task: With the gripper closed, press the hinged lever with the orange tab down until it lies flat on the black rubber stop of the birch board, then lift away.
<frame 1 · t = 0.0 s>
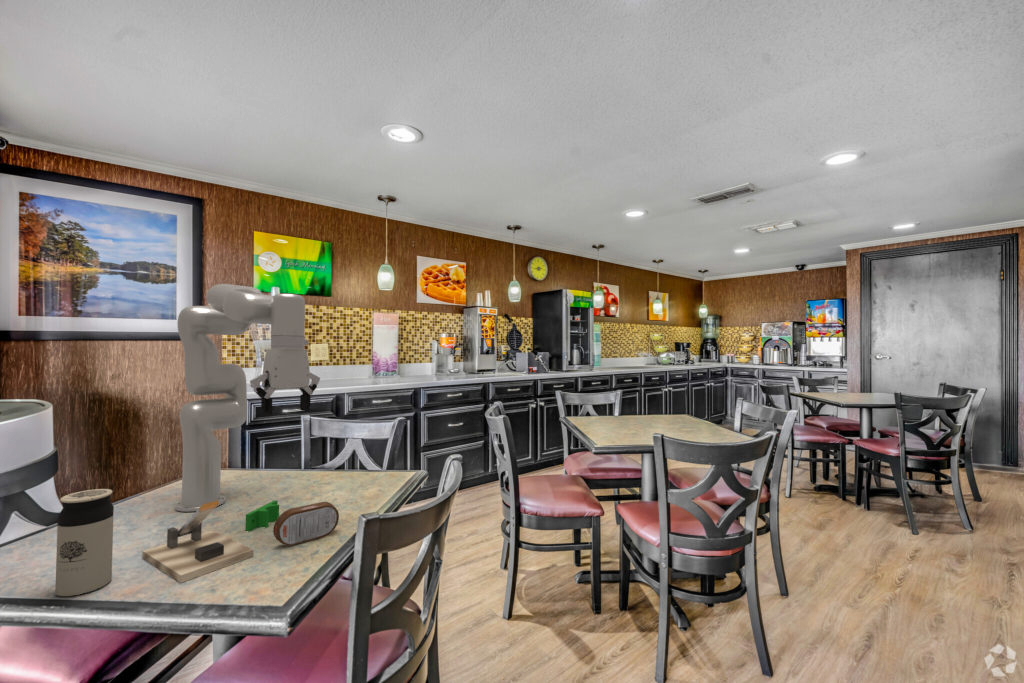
hand: (286, 412, 111), 31 cm above the table, tool pointing down, fingers open, 9 cm apart
tin: (307, 541, 110), on the table
hinged lever: (196, 519, 101), point 8 cm above the table, hinge at 35.0°
base plate: (197, 557, 100), on the table
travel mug: (84, 587, 87), on the table
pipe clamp: (265, 525, 120), on the table
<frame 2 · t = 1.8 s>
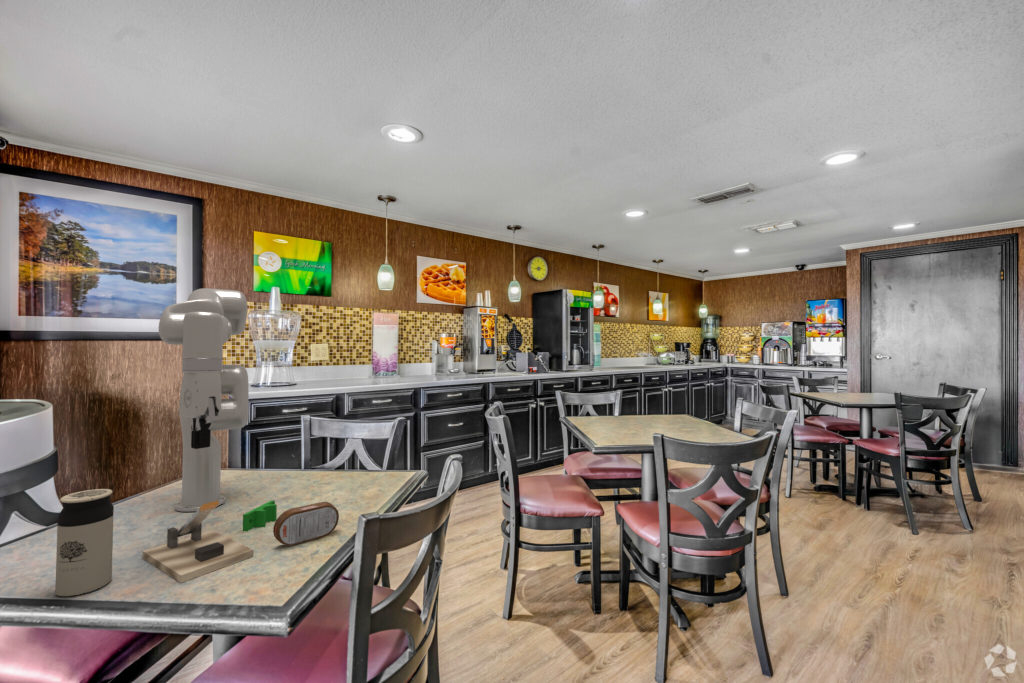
hand: (200, 447, 101), 25 cm above the table, tool pointing down, fingers closed
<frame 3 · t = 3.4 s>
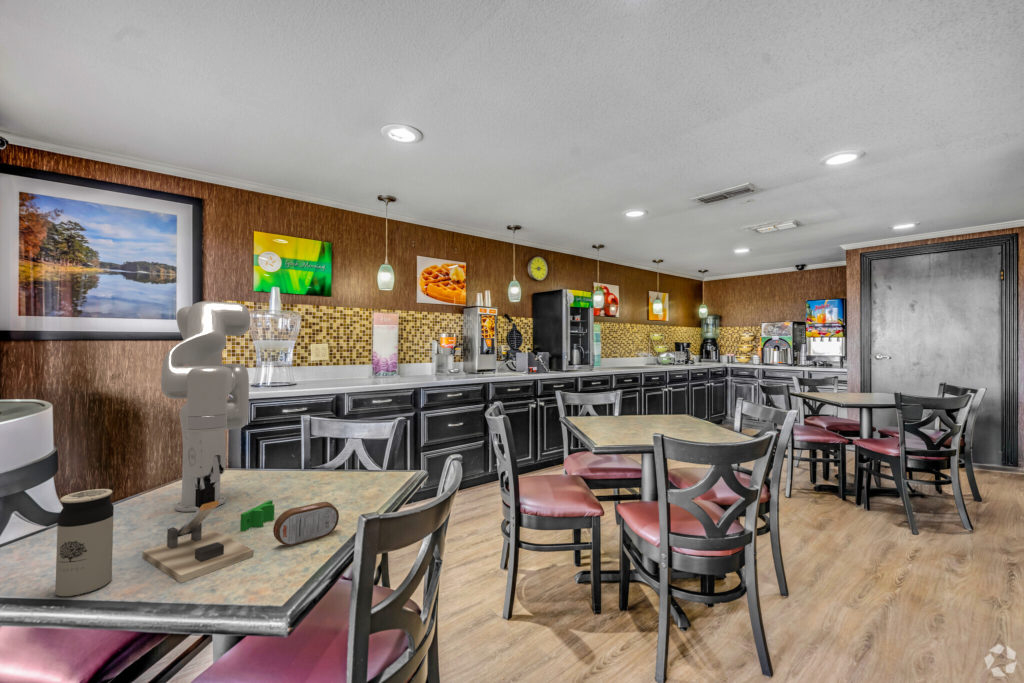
hand: (205, 505, 99), 12 cm above the table, tool pointing down, fingers closed
hinged lever: (196, 519, 101), point 8 cm above the table, hinge at 35.0°, touching gripper
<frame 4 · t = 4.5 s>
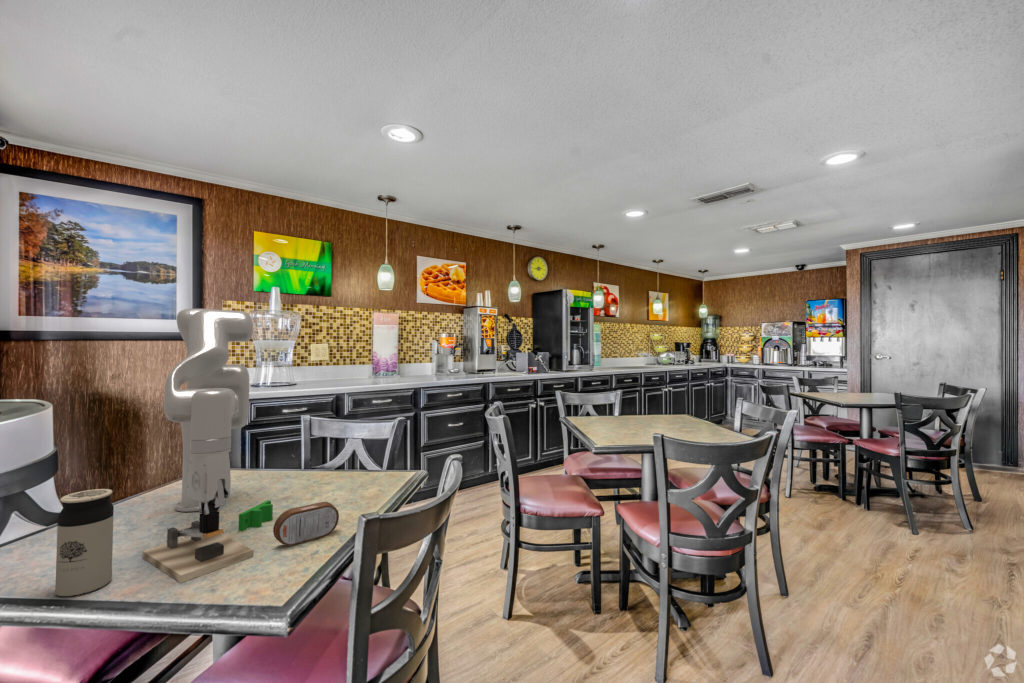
hand: (209, 530, 97), 7 cm above the table, tool pointing down, fingers closed
hinged lever: (198, 532, 100), point 5 cm above the table, hinge at 11.5°, touching gripper
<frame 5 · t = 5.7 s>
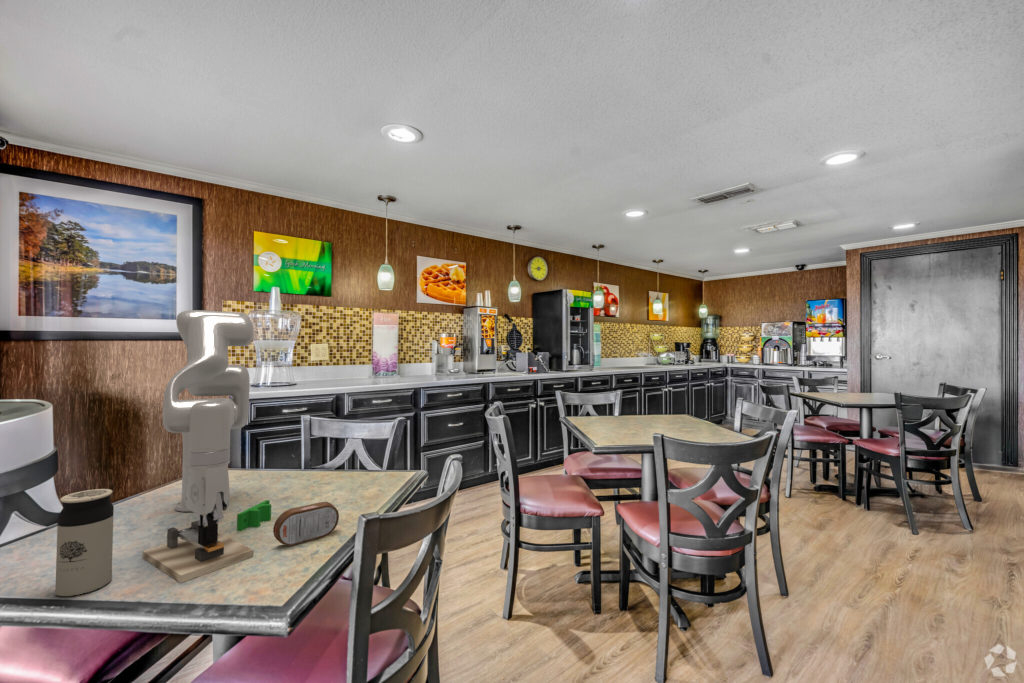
hand: (207, 542, 97), 4 cm above the table, tool pointing down, fingers closed
hinged lever: (199, 539, 100), point 4 cm above the table, hinge at 0.3°, touching gripper
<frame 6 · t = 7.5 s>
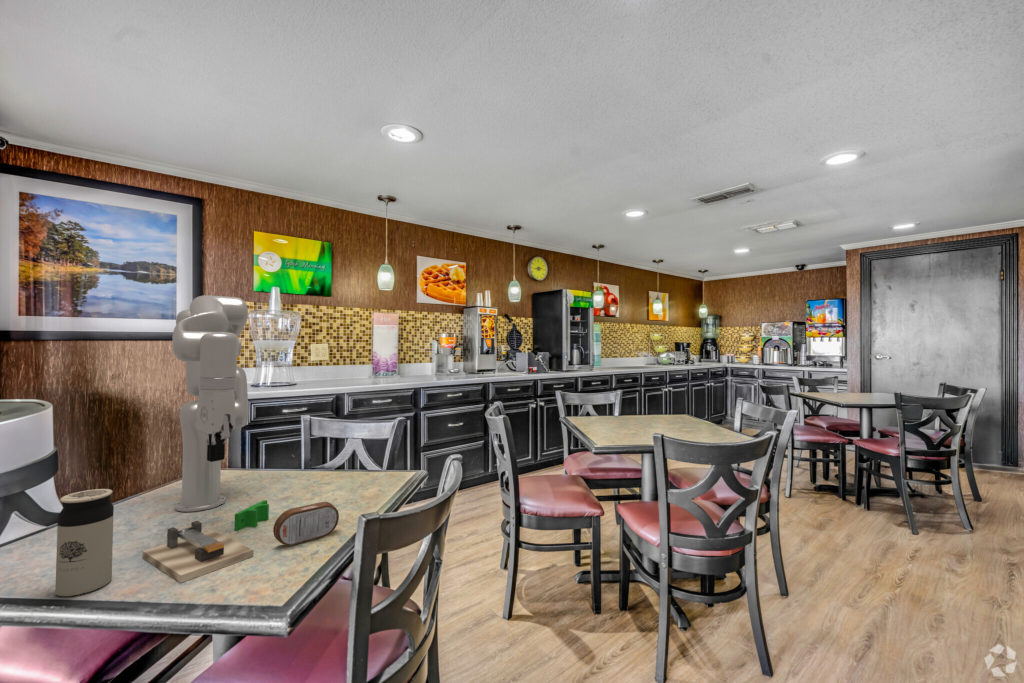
hand: (215, 460, 107), 20 cm above the table, tool pointing down, fingers closed
hinged lever: (199, 539, 100), point 4 cm above the table, hinge at 0.1°
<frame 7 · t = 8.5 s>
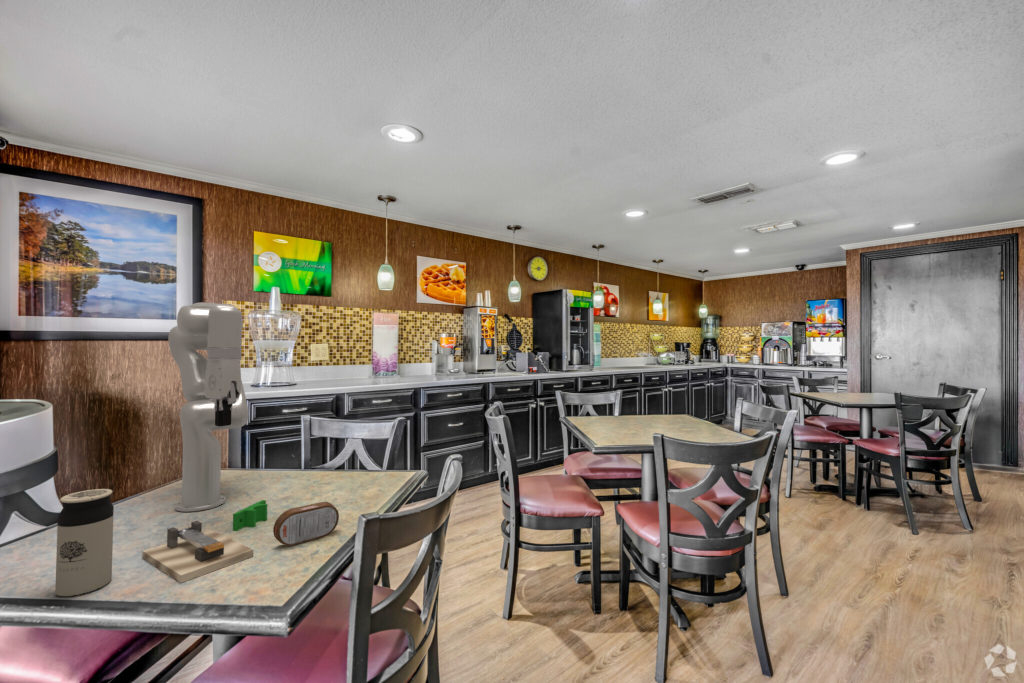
hand: (223, 425, 116), 27 cm above the table, tool pointing down, fingers closed
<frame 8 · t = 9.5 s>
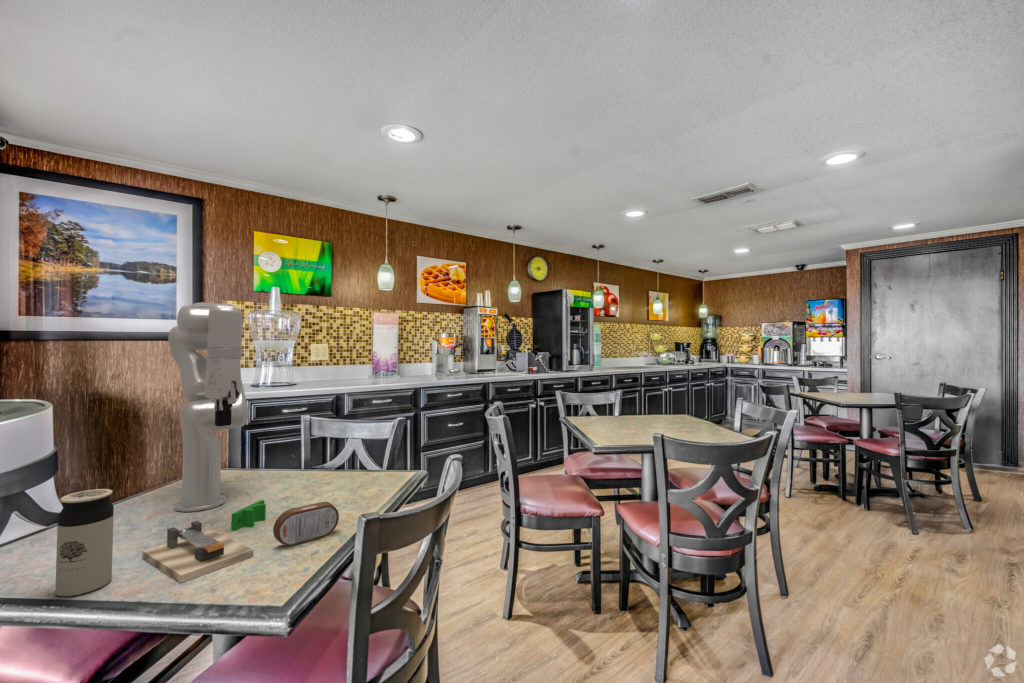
hand: (223, 425, 116), 27 cm above the table, tool pointing down, fingers closed
at the end: hinged lever at +0° (first picture: +35°); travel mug moved 0.2 cm from its start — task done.
